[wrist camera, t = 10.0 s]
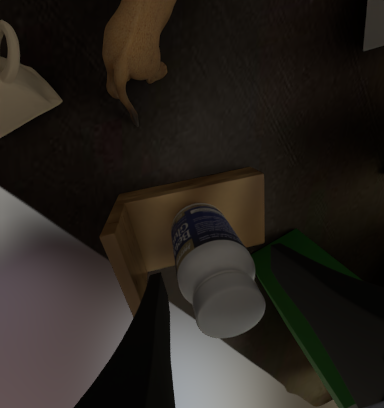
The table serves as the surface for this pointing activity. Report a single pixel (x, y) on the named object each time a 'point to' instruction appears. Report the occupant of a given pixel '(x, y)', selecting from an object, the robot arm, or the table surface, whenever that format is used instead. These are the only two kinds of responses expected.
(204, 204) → the pill bottle
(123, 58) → the lion figurine
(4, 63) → the decorative ornament
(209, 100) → the table surface
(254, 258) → the hardback book
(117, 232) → the shelf
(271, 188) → the table surface
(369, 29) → the alarm clock
